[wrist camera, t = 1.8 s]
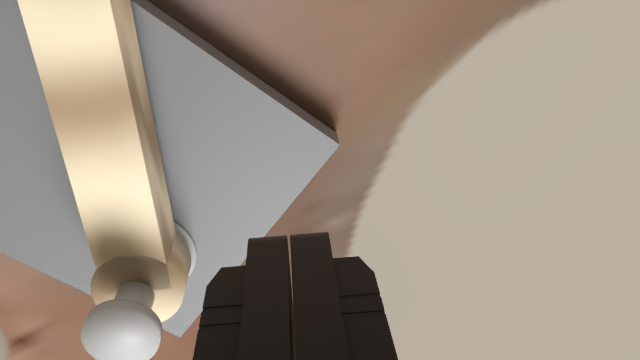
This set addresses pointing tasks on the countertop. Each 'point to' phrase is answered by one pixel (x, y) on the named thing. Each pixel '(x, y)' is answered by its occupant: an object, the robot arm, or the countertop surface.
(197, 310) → the hinge plate
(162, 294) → the link
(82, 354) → the countertop surface
